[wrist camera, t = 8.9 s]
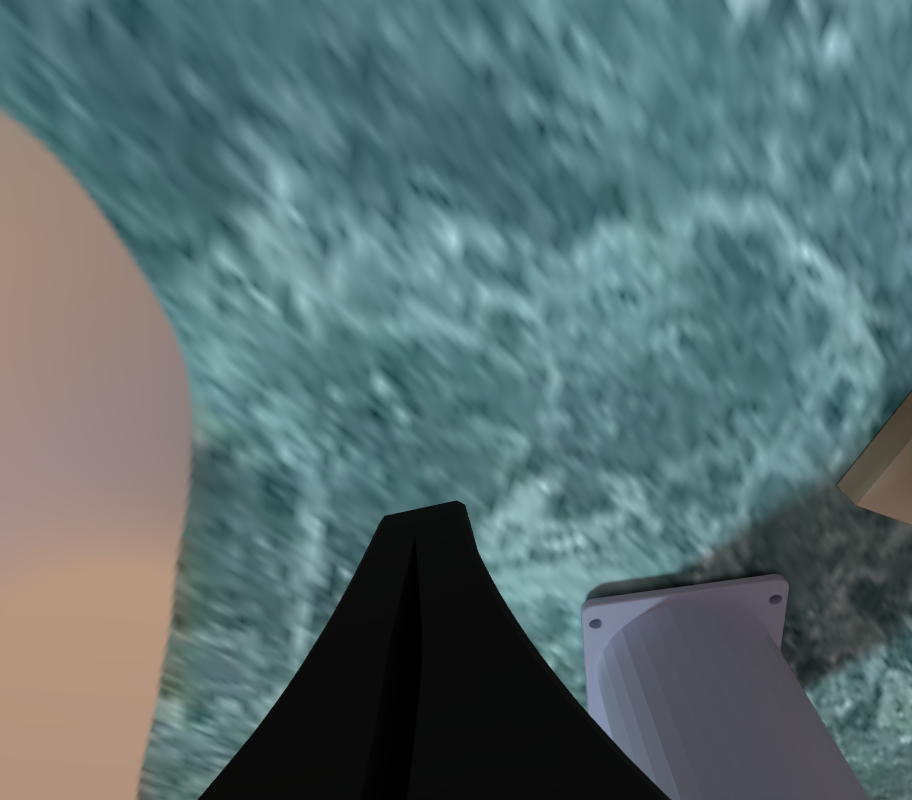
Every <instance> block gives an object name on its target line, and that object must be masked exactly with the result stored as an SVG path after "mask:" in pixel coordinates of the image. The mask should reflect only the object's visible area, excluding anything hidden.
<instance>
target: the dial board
mask: <svg viewBox="0 0 912 800" xmlns="http://www.w3.org/2000/svg"><path fill="white" fill-rule="evenodd" d="M837 486H838V487H839V488H840V489H841V490H842V491H843V493H844V494H845V495H846V496H847V497H848V498H849V499H850V500H851V501H852V502H853V503H854V504H855V505H856V506H859V507H862V508H864V509H867V510H870V511H873V512H876V513H879V514H882V515H884V516H887V517H890V518H893V519H896V520H899V521H901V522H904V523H907V524H910V525H912V392H911V393H910V394H909V396H908V397H907V398H906V399H905V401H904V402H903V403H902V404H901V406H900V407H899V408H898V409H897V411H896V412H895V413H894V414H893V416H892V417H891V418H890V419H889V421H888V422H887V423H886V424H885V426H884V427H883V428H882V429H881V431H880V432H879V433H878V434H877V436H876V437H875V438H874V439H873V441H872V442H871V443H870V444H869V446H868V447H867V448H866V449H865V451H864V452H863V453H862V454H861V456H860V457H859V458H858V459H857V461H856V462H855V463H854V464H853V466H852V467H851V468H850V469H849V471H848V472H847V473H846V474H845V476H844V477H843V478H842V479H841V481H840V482H839V483H838V484H837Z"/></svg>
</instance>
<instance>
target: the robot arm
mask: <svg viewBox="0 0 912 800" xmlns="http://www.w3.org/2000/svg"><path fill="white" fill-rule="evenodd" d="M788 592H789V584H788V582H787V581H786V580H785V578H784V577H783V576H782V575H779V574H771V575H763V576H756V577H749V578H741V579H734V580H726V581H719V582H712V583H704V584H697V585H690V586H682V587H675V588H668V589H660V590H653V591H645V592H638V593H631V594H623V595H616V596H609V597H601V598H594V599H590V600H587V601H586V602H584V603H583V605H582V606H581V622H582V637H583V652H584V667H585V682H586V697H587V711H586V710H585V709H584V708H583V707H582V706H581V705H580V704H579V703H578V701H577V700H576V699H575V698H574V697H573V695H572V694H571V693H570V692H569V690H568V689H567V688H566V687H565V685H564V684H563V683H562V682H561V681H560V679H559V678H558V677H557V676H556V674H555V673H554V672H553V670H552V669H551V668H550V667H549V665H548V664H547V663H546V661H545V660H544V659H543V657H542V656H541V655H540V653H539V652H538V651H537V649H536V648H535V646H534V645H533V644H532V642H531V641H530V639H529V638H528V637H527V635H526V634H525V632H524V631H523V629H522V628H521V626H520V625H519V623H518V622H517V620H516V618H515V617H514V615H513V614H512V612H511V611H510V609H509V608H508V606H507V604H506V603H505V601H504V599H503V598H502V596H501V594H500V593H499V591H498V589H497V587H496V585H495V584H494V582H493V580H492V578H491V576H490V574H489V572H488V571H487V569H486V567H485V565H484V563H483V561H482V559H481V557H480V555H479V552H478V549H477V546H476V542H475V539H474V535H473V531H472V528H471V524H470V520H469V517H468V513H467V510H466V506H465V505H464V504H463V503H461V502H459V501H452V502H447V503H443V504H438V505H433V506H429V507H424V508H419V509H415V510H410V511H405V512H401V513H396V514H391V515H387V516H384V517H383V519H382V520H381V522H380V523H379V525H378V527H377V530H376V532H375V534H374V536H373V538H372V540H371V542H370V544H369V546H368V548H367V550H366V552H365V554H364V556H363V558H362V560H361V562H360V564H359V566H358V568H357V570H356V572H355V574H354V576H353V578H352V580H351V582H350V584H349V585H348V587H347V589H346V591H345V593H344V595H343V596H342V598H341V600H340V602H339V604H338V605H337V607H336V609H335V611H334V613H333V615H332V616H331V618H330V620H329V622H328V623H327V625H326V627H325V628H324V630H323V631H322V633H321V635H320V636H319V638H318V639H317V641H316V643H315V644H314V646H313V648H312V649H311V651H310V652H309V654H308V656H307V657H306V659H305V660H304V662H303V664H302V665H301V667H300V668H299V670H298V671H297V673H296V674H295V676H294V677H293V679H292V680H291V682H290V683H289V685H288V686H287V688H286V689H285V691H284V692H283V693H282V695H281V696H280V698H279V699H278V701H277V702H276V703H275V705H274V706H273V707H272V709H271V710H270V711H269V713H268V714H267V715H266V717H265V718H264V720H263V721H262V722H261V724H260V725H259V726H258V728H257V729H256V730H255V732H254V733H253V734H252V735H251V737H250V738H249V739H248V740H247V741H246V743H245V744H244V745H243V746H242V748H241V749H240V750H239V751H238V753H237V754H236V755H235V756H234V757H233V758H232V760H231V761H230V762H229V763H228V764H227V766H226V767H225V768H224V769H223V770H222V772H221V773H220V774H219V775H218V776H217V778H216V779H215V780H214V781H213V782H212V783H211V785H210V786H209V787H208V788H207V789H206V791H205V792H204V793H203V794H202V795H201V796H200V798H199V799H198V800H870V799H869V797H868V796H867V794H866V792H865V791H864V789H863V787H862V786H861V784H860V782H859V781H858V779H857V777H856V776H855V774H854V773H853V771H852V769H851V768H850V766H849V764H848V763H847V761H846V759H845V758H844V756H843V754H842V753H841V751H840V749H839V748H838V746H837V744H836V743H835V741H834V739H833V738H832V736H831V734H830V733H829V731H828V729H827V728H826V726H825V724H824V723H823V721H822V720H821V718H820V716H819V715H818V713H817V711H816V710H815V708H814V706H813V705H812V703H811V701H810V700H809V698H808V696H807V695H806V693H805V691H804V690H803V688H802V686H801V685H800V683H799V681H798V680H797V678H796V676H795V675H794V673H793V671H792V670H791V668H790V667H789V665H788V663H787V662H786V660H785V658H784V657H783V655H782V653H781V652H780V650H781V643H782V636H783V628H784V621H785V614H786V606H787V599H788ZM772 596H773V597H772ZM594 619H598V620H596V621H592V620H594ZM587 712H588V713H587Z"/></svg>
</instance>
